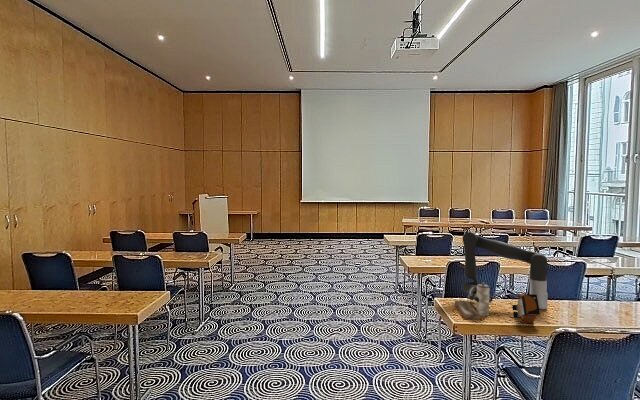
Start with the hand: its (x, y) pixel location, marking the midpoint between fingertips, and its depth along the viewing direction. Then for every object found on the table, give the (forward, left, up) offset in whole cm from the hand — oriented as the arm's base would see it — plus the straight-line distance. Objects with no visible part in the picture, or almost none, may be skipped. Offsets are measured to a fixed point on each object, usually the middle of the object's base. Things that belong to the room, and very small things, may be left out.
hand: (484, 300), depth 244 cm
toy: (-20, +8, -9) cm, 23 cm away
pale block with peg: (0, -2, -8) cm, 9 cm away
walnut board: (+8, -6, -8) cm, 13 cm away
